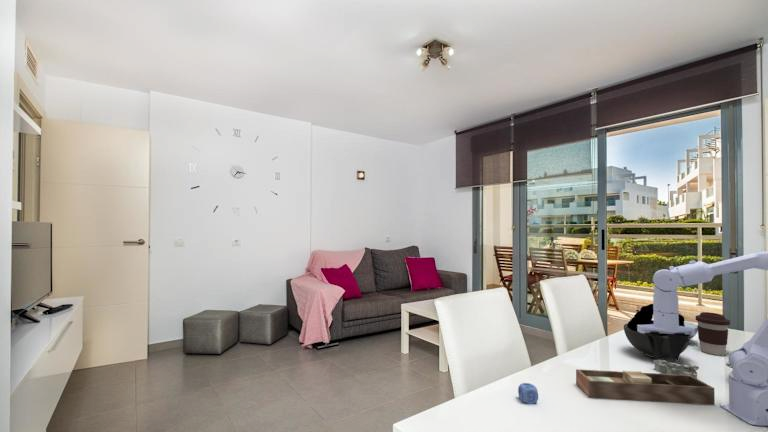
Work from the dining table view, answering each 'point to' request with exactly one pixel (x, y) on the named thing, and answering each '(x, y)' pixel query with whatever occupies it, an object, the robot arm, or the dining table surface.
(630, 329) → the bowl of black rocks
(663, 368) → the egg carton
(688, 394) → the brown wooden long box
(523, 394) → the decorative dice
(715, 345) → the coffee cup
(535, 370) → the dining table surface
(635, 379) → the beech block
